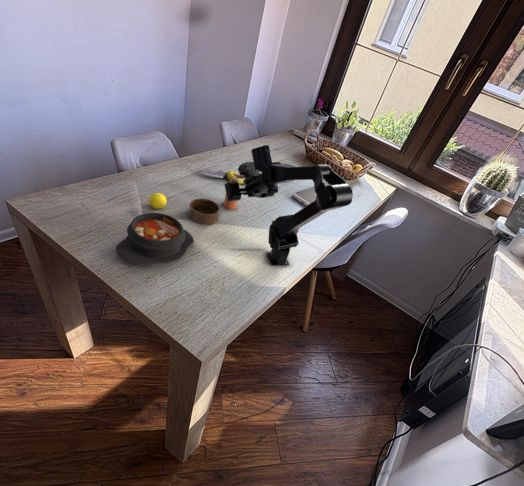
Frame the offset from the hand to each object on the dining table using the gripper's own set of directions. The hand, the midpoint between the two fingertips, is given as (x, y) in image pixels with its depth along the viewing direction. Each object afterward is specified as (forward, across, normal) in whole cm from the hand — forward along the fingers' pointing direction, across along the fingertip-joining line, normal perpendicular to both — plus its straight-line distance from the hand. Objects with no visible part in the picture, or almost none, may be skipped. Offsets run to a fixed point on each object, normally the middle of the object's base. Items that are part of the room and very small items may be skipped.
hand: (239, 196), depth 134 cm
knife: (+23, -9, -13) cm, 28 cm away
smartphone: (+7, -47, +3) cm, 47 cm away
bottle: (+8, 0, +2) cm, 9 cm away
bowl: (+5, +14, +5) cm, 15 cm away
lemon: (+12, +27, -2) cm, 30 cm away
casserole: (-3, +36, +14) cm, 39 cm away
